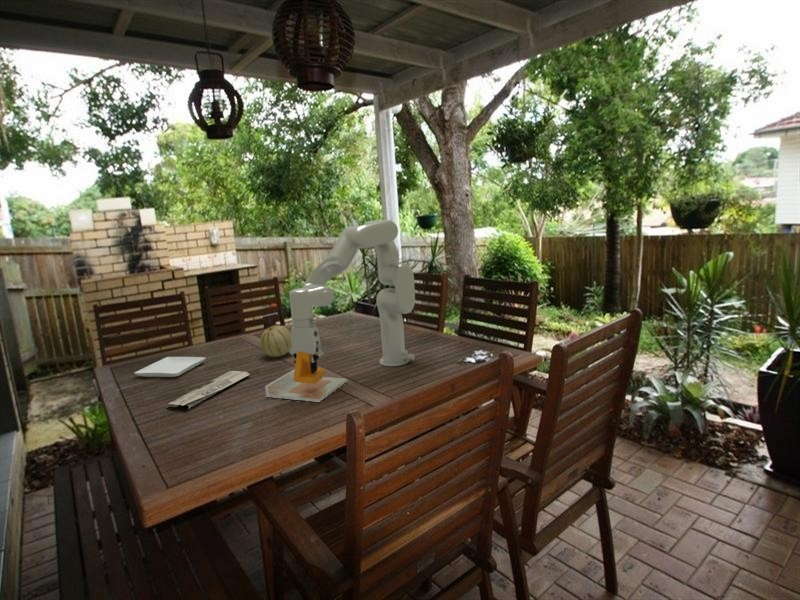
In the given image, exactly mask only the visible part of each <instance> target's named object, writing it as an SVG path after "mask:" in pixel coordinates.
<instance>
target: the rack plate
mask: <svg viewBox="0 0 800 600" xmlns="http://www.w3.org/2000/svg"><path fill="white" fill-rule="evenodd" d="M294 371H295V368H294V369H292V370H290V371H289V372H287V373H285V374H283V375H282V376H280V377H278V378H276V379H274V381H271V382H269V383H267V384H266V385H265V386H264V389H265V395H266V397H273V398H285V399H294V400H305V401H313V402H320V401H321V400H323V399H324V398H325V397H327V396H328V395H329V394H331V393H332V392H333V391H334V390H336V389H337V388H338V387H340V386H341V385H342V384H344V383H345V382H347V383H348V379H347V378H341V377H330V376H323V378H322V379H321V380H319V381H318V382H317V383H316V384H315V383H312V384H308V383H301V382H294ZM344 385H345V384H344ZM331 395H332V394H331ZM266 397H265V398H266Z"/></svg>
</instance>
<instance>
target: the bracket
mask: <svg viewBox="0 0 800 600" xmlns="http://www.w3.org/2000/svg"><path fill="white" fill-rule="evenodd" d="M310 363H311V359H310V354H309V353H304V352H299V351H298V352H297V357H296V358H295V364H294V369H295V371H294V382H301V383H308V384H312V383H315V384H316V383H317V382H318V381H319V380H321V379H322V378H323V377H324V376H325V374H326V369H325V368H324V367H323V368H322V367H317V371H316V372H314V373H311V368H310Z"/></svg>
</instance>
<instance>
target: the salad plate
mask: <svg viewBox="0 0 800 600" xmlns="http://www.w3.org/2000/svg"><path fill="white" fill-rule="evenodd" d="M206 359H207V357H203V356H201V357H200V356H166V357H164V358H161V359H160V360H158V361H155V362H153V363H152V364H149V365H147V366H145V367H142V368H141V369H139V370H136V371H134V375H136V376H139V377H143V378H145V377H148V378H176V377H178V376H181V375H183V374H184V373H187V372H188V370H189V371H191V370H193V369H195V368H196V367H198V366H199V365H201V364H202V363H203V362H204V361H205V360H206ZM195 366H196V367H195ZM186 371H187V372H186Z"/></svg>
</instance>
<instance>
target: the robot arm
mask: <svg viewBox="0 0 800 600" xmlns="http://www.w3.org/2000/svg"><path fill="white" fill-rule="evenodd" d="M398 234H399V228H398V226H397V224H396V223H395V222H394V221H393V220H391V219H385V220H384V219H380V220H379V219H378V220H374V219H373V220H368V221H365V222H364V223H363V224H362V225H349V226H347V227H345V228H344V229H343V230H342V231H341V234H340V235H339V237H338V239H337V240H336V242H335V244H334V245H333V248H331V250H330V252H329V255H328V256H327V257H326V258H325V259H324V260H323V261H322V262H321V263H319V265H317V266H316V267H315V268H314V269H313V271H311V273H310V274H309V276H308V277H307V279H306V281H305V282H304V284H303V285H302V287H301V288H299V287H297V288H294V289H291V290H290V291H289V303H290V304H289V306H290V314H291V321H292V322H291V323H292V324H291V325H292V327H291V329H290V333H291V349H290V351H289V352H288V353H289V354H290V355H292V356H293V357H294V358H295V359H296V357H297V352H298V351H299V352H304V353H309V354H310V359H311V363H310V368H311V373H314V372H316V371H317V368H318V360H319V358H320V357H321V356H323V355H324V354H325V352H324V351H323V349H322V344H321V339H320V338H321V337H320V334H319V329H318V327H317V325H316V324H317V320H316V319H315V317H314V313H313V312H314V311H313V308H316V307H327V306H329V305H331V304H332V303H333V301H334V299H335V293H334V290H333V289H332V288H331V287H329V286H327V285H326V284H327V283H328V282H329V280H330V279H332V278H333V277H335V276H337V275H339V274H341V273H343V272H344V271H346V270H347V269H349V267H350V265H351V263H352V261H353V259H355V256H356V254H357V253H358V251H359V249H370V248H374V250H375V251H376V252H375V253H376V258H377V259H376V260H377V275H378V280H379V282H380V283H381V284H382V285H385V286H389V287H388V288H383V289H381V290H380V291H379V292H378V293H377V295H376V300H375V301H376V302H375V303H376V306H377V311H378V314H379V322H380V336H381V347H382V357H381V358H380V359H379V364H380V365H382V366H383V367H384V366H385V367H399V366H404V365H406V364H408V363H409V362H410V360H411V361H412V360H413V361H414V360H415V355H414V353H408V350H407V349H406V348H405V345H406V344H405V331H404V330H405V329H404V319H403V316H402V315H406V314H410V313H411V312H412V310H413V309H414V307H415V303H416V291H415V276H414V271H413V269H412V267H411V266H410V265H409V264H407V263H406V262H405V263H404V262H399V256H398V255H399V254H398V248H397V245H396V242H395V241H394V240H396V238H397V236H398ZM390 286H391V287H394V288H391V287H390Z"/></svg>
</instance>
